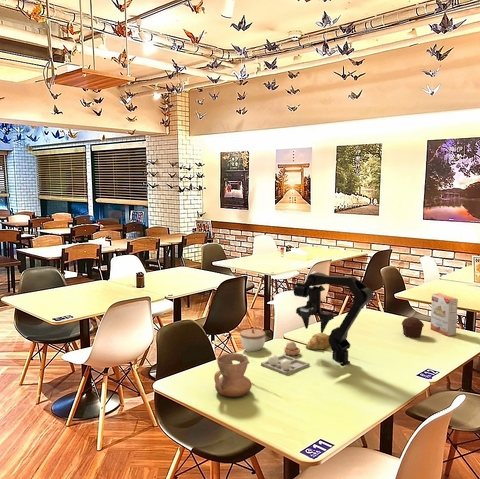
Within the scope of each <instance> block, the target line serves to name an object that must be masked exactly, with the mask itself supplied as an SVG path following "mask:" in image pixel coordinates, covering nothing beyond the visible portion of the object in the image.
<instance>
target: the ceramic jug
mask: <svg viewBox="0 0 480 479" xmlns="http://www.w3.org/2000/svg"><path fill="white" fill-rule="evenodd" d="M235 361H236V362H238V363H233V362H235ZM216 362H217V367H218V370H217V371H215V373H214V376H213V378H214V379H213V380H214V387H215V391H216V392H217V393H218V394H219V395H221V396H224V397H228V398H239V397H243V396H245V395H247V394H248V393H249V392H250V391H251V389H252V381H251V380H250V378H249V377H247V376H246V375H245V373H246V372H247V371H246V370H247V368H248V365H249V364H250V361H249V357H248V356H247V355H244V354H242V353H239V352H237V353H236V352H233V353H231V352H230V353H226V354H222V355H221V356H219V357H217V359H216Z"/></svg>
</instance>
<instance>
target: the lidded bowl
mask: <svg viewBox="0 0 480 479" xmlns="http://www.w3.org/2000/svg"><path fill="white" fill-rule="evenodd" d="M265 341H266V332H265V331H264V330H262V329H257V328H249V329H244V330H241V331H240V345H241V346H242V348H243V349H244V350H245V352H247V353H250V352H257V351H260V350H262V349H263V347H264V346H265Z"/></svg>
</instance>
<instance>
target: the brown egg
mask: <svg viewBox="0 0 480 479" xmlns="http://www.w3.org/2000/svg"><path fill="white" fill-rule="evenodd" d="M285 347H286V348H287V349H288V350H289V351H294V350H295V349H296V347H297V344H296V342H294V341H292V340H290V341H288V342H287V343H286V344H285Z"/></svg>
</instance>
